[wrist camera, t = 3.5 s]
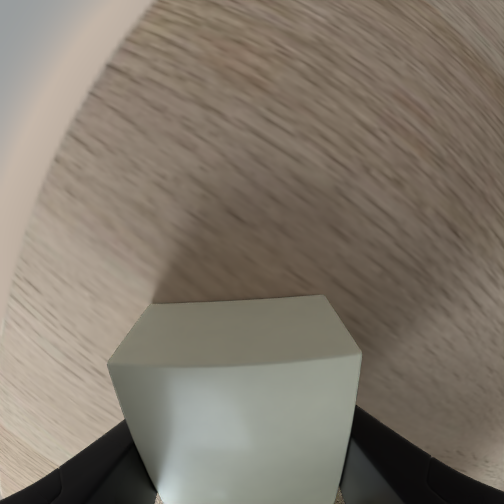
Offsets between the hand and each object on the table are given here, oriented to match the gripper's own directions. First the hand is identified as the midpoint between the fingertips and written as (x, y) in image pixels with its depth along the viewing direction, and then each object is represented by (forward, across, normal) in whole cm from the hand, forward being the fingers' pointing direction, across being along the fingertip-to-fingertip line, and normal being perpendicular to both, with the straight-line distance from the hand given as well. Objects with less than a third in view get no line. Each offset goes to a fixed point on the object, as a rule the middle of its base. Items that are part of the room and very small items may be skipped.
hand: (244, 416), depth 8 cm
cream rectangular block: (+1, 0, 0) cm, 1 cm away
